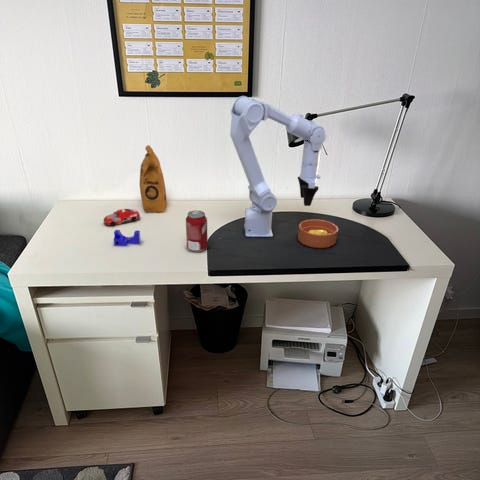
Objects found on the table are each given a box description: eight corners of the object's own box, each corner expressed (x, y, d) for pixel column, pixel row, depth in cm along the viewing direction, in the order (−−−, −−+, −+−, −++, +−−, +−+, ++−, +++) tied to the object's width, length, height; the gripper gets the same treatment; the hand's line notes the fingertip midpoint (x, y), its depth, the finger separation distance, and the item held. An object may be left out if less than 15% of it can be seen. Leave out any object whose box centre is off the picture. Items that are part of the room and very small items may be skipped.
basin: (300, 249, 146) (302, 235, 143) (294, 232, 157) (296, 219, 154) (339, 249, 147) (341, 235, 144) (331, 232, 157) (333, 219, 155)
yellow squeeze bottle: (307, 241, 150) (309, 233, 148) (306, 235, 152) (307, 227, 150) (330, 242, 151) (332, 234, 148) (328, 235, 153) (330, 228, 150)
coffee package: (140, 213, 166) (133, 153, 153) (142, 201, 176) (136, 144, 163) (166, 213, 167) (162, 153, 154) (167, 201, 177) (163, 144, 164)
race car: (107, 228, 154) (105, 217, 152) (101, 222, 158) (100, 212, 156) (142, 220, 160) (140, 210, 158) (136, 215, 164) (135, 205, 162)
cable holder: (114, 245, 143) (112, 234, 141) (116, 241, 146) (115, 229, 144) (139, 246, 144) (137, 235, 141) (140, 241, 146) (139, 230, 144)
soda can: (199, 255, 140) (198, 219, 133) (182, 249, 143) (181, 214, 136) (211, 247, 145) (211, 212, 138) (195, 242, 148) (194, 208, 141)
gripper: (326, 169, 142) (320, 209, 150) (317, 156, 154) (312, 194, 162) (304, 169, 142) (300, 209, 150) (298, 156, 153) (294, 194, 161)
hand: (305, 201), depth 156 cm, fingers open, 7 cm apart
